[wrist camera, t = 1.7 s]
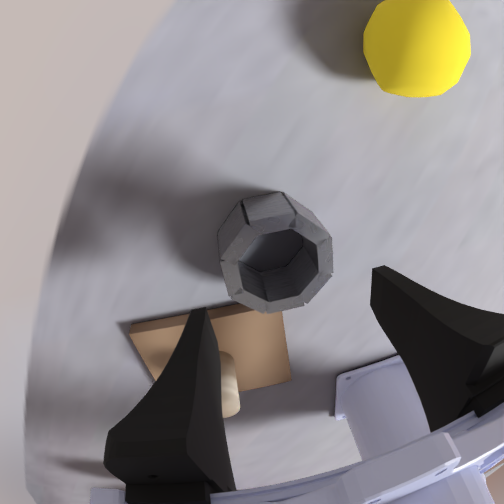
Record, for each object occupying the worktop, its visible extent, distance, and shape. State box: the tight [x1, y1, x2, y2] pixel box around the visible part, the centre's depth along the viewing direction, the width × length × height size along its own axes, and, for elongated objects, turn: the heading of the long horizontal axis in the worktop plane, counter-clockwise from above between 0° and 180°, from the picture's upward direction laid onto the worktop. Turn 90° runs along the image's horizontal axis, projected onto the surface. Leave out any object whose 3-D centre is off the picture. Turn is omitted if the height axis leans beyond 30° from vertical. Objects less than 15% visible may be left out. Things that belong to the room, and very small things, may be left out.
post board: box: [129, 303, 292, 418], centre depth 20 cm, size 10×8×5 cm
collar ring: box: [217, 192, 333, 314], centre depth 17 cm, size 6×6×3 cm
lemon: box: [363, 0, 471, 97], centre depth 12 cm, size 7×5×5 cm
